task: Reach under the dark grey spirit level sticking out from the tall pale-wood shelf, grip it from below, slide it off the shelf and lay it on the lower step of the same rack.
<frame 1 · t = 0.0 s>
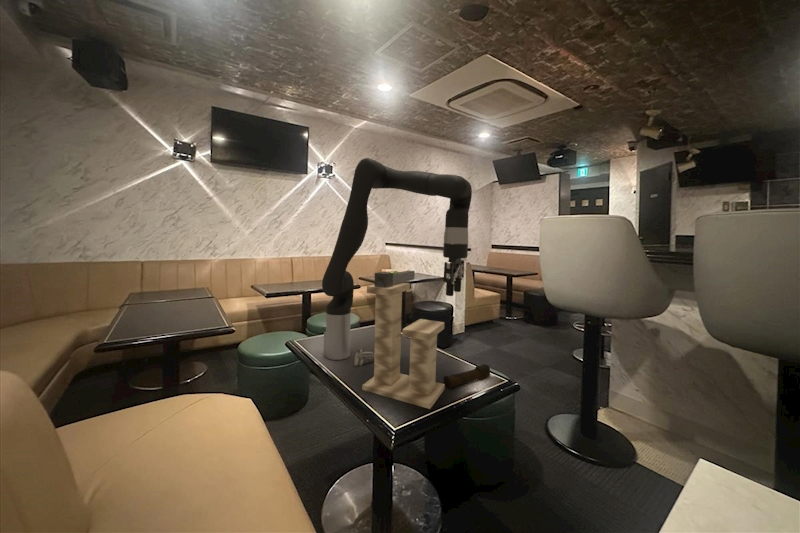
hand: (453, 293, 97), 29 cm above the table, tool pointing down, fingers open, 8 cm apart
rack: (403, 389, 94), on the table
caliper: (378, 361, 116), on the table
spirit level: (397, 282, 99), point 32 cm above the table, touching rack
dark brown bar: (467, 382, 101), on the table
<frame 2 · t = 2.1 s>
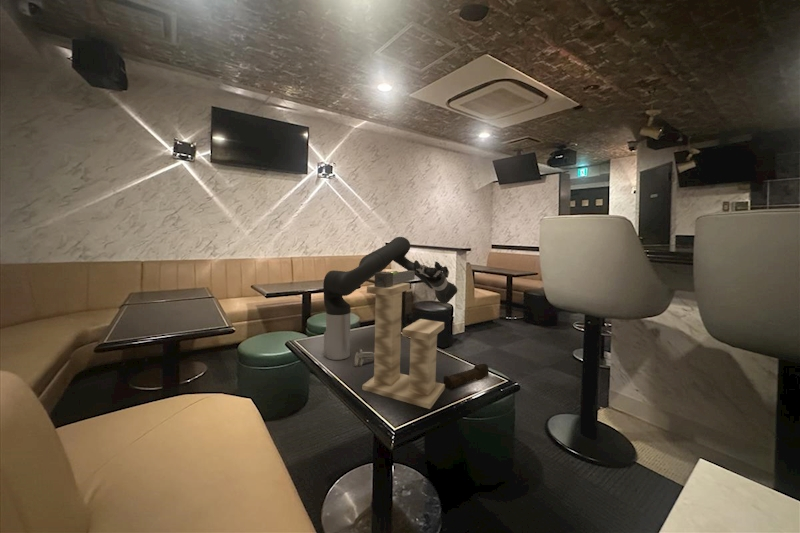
hand: (425, 263, 120), 37 cm above the table, tool pointing upward, fingers open, 8 cm apart
nothing on the table moved.
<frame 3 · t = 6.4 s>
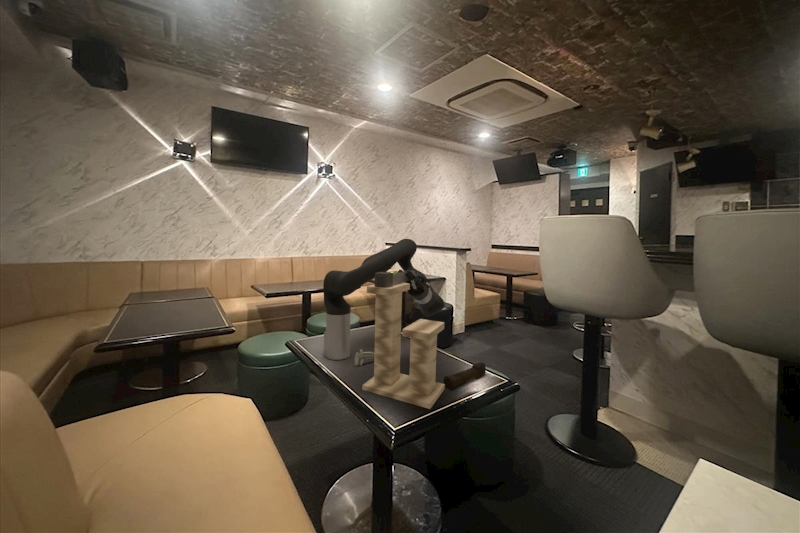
hand: (403, 272, 103), 35 cm above the table, tool pointing upward, fingers closed on spirit level, 2 cm apart
spirit level: (397, 282, 99), point 32 cm above the table, touching gripper, rack
when the fingers open (26 cm above the table, at t = 17.2 s): spirit level drops 1 cm, resting on rack.
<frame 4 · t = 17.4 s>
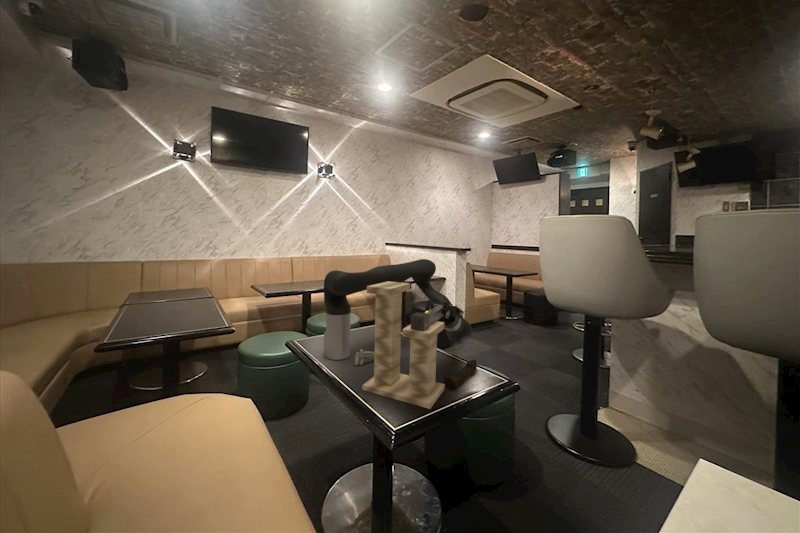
hand: (436, 303, 98), 26 cm above the table, tool pointing upward, fingers open, 4 cm apart
spirit level: (431, 321, 95), point 21 cm above the table, touching rack
dark brown bar: (461, 379, 103), on the table
everything else where it was.
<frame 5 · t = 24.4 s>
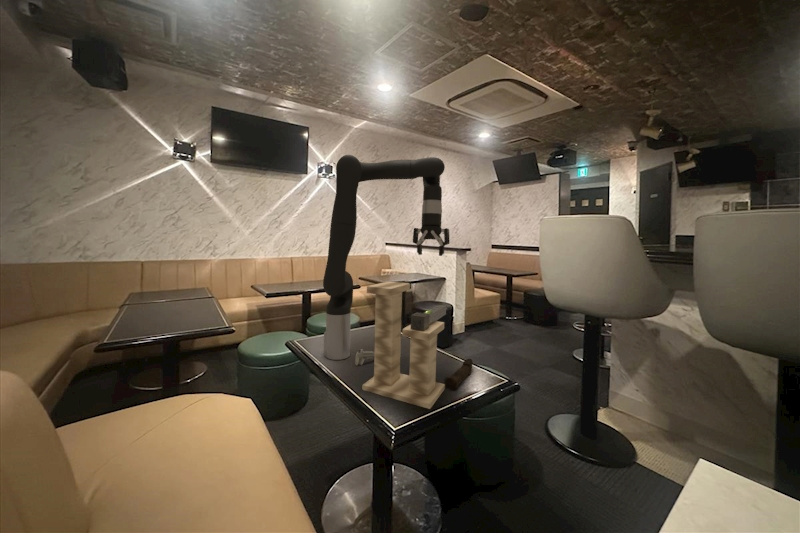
hand: (430, 255, 119), 40 cm above the table, tool pointing down, fingers open, 8 cm apart
at the end: spirit level inside the target area (0.2 cm from its centre), point 21.0 cm above the table; spirit level tilted 0°; the gripper is holding nothing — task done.
